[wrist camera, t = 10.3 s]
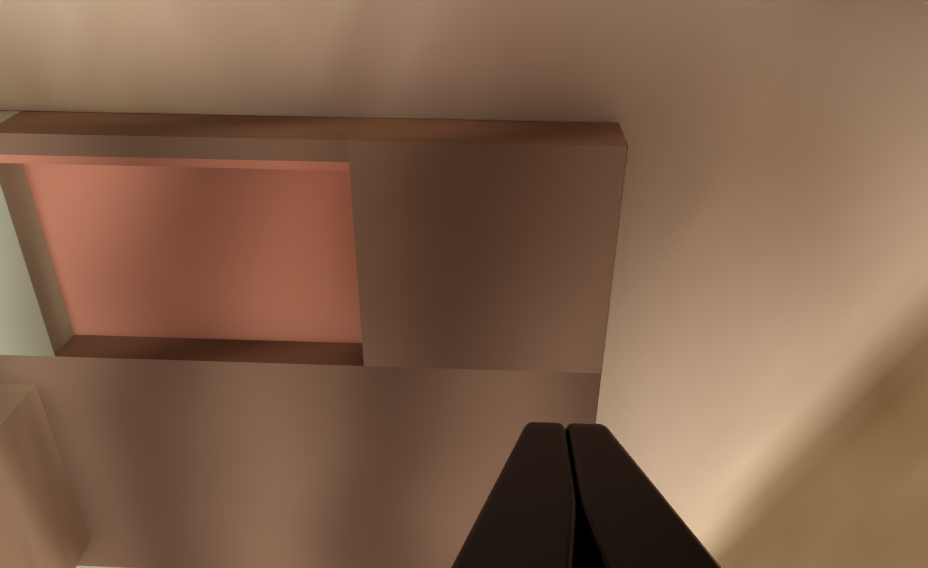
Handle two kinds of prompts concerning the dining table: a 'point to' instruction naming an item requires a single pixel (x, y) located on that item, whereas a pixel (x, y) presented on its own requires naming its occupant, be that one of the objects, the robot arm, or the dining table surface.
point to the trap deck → (300, 322)
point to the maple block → (34, 488)
